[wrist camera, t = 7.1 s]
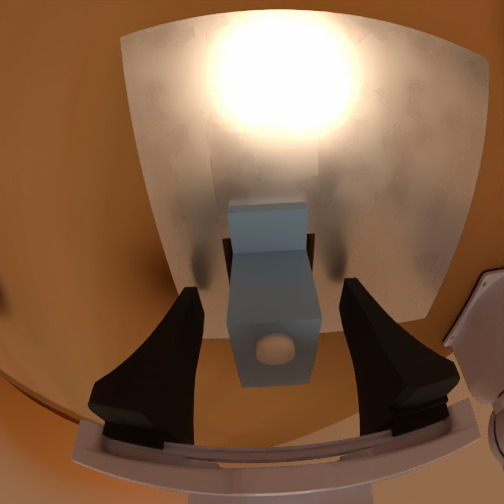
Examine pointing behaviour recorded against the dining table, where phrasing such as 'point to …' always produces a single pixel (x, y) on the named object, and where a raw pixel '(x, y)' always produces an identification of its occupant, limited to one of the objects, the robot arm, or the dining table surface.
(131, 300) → the dining table surface
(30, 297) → the dining table surface
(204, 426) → the dining table surface
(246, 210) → the servo
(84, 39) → the dining table surface
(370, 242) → the silver flat plate
